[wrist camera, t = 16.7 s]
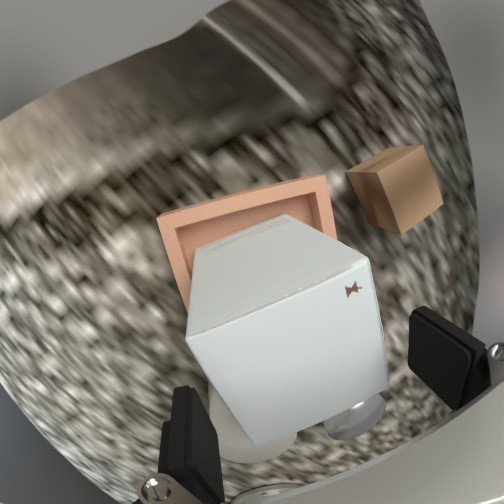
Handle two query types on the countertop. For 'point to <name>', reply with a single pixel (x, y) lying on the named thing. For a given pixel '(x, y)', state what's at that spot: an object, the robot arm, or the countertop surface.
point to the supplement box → (285, 326)
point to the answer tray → (241, 219)
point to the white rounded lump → (240, 436)
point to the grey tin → (356, 419)
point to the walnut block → (396, 188)
